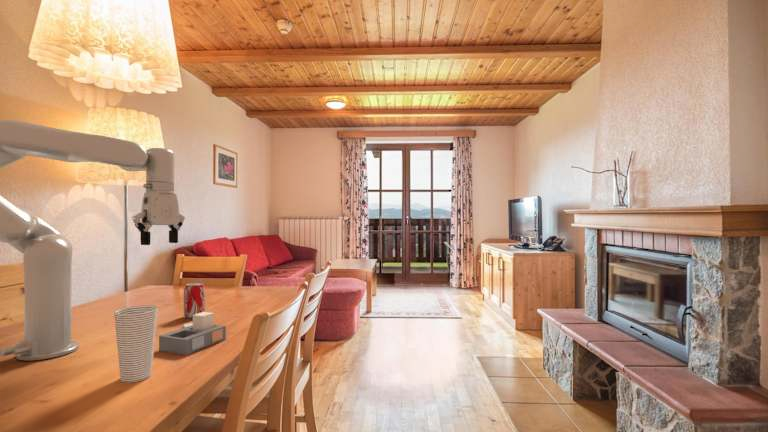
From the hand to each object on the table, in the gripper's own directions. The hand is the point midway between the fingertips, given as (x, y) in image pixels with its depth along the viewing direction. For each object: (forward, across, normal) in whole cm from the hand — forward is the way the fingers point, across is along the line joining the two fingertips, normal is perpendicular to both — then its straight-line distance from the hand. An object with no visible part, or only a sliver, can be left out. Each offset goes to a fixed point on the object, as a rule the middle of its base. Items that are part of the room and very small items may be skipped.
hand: (160, 243), depth 120 cm
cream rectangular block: (+28, 0, -17) cm, 33 cm away
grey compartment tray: (+28, -3, -17) cm, 33 cm away
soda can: (+28, +21, +8) cm, 36 cm away
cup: (+28, -25, -23) cm, 44 cm away
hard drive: (+29, +9, -7) cm, 31 cm away
